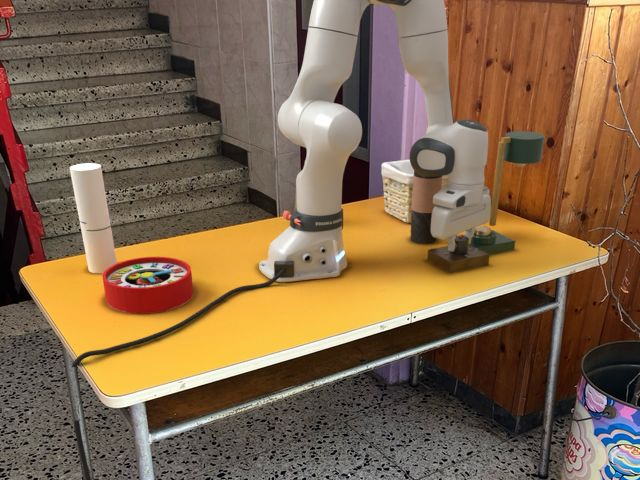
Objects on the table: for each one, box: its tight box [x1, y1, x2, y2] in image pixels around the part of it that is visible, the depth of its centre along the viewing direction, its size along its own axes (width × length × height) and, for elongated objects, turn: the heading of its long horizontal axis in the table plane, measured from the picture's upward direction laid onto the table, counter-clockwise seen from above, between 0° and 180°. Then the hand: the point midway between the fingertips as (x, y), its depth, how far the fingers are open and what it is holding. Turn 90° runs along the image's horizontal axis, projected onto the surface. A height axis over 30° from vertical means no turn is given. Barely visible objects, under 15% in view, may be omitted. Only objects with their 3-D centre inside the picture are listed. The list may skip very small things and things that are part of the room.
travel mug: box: [410, 171, 442, 245], centre depth 198 cm, size 8×8×20 cm
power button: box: [475, 225, 492, 237], centre depth 193 cm, size 4×4×2 cm
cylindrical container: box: [69, 162, 118, 274], centre depth 180 cm, size 7×7×25 cm
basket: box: [380, 159, 448, 224], centre depth 220 cm, size 24×16×15 cm
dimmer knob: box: [450, 233, 469, 255], centre depth 185 cm, size 4×4×4 cm
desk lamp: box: [488, 130, 546, 227], centre depth 196 cm, size 13×10×22 cm
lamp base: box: [462, 229, 516, 256], centre depth 196 cm, size 12×10×4 cm
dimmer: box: [426, 245, 491, 274], centre depth 187 cm, size 12×10×3 cm
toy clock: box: [101, 256, 195, 314], centre depth 170 cm, size 20×6×20 cm
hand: (458, 247), depth 186 cm, fingers closed on dimmer knob, 4 cm apart
